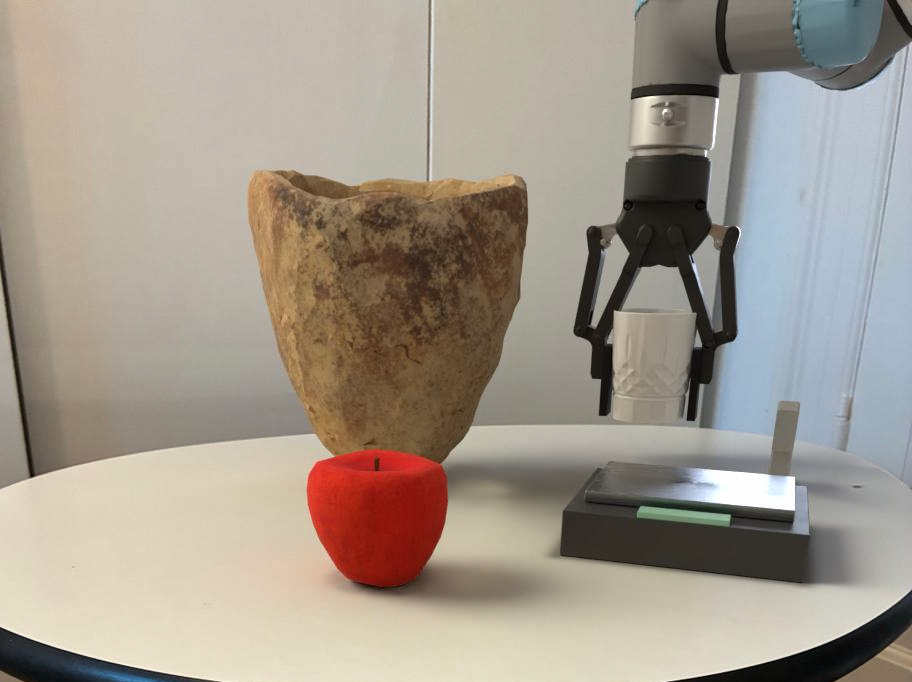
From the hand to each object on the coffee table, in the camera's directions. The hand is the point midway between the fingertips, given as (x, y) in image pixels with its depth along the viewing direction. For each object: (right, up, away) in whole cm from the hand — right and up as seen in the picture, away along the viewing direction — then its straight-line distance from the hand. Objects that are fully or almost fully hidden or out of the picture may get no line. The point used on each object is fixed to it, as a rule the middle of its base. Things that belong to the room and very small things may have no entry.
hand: (647, 416), depth 99 cm
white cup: (0, -1, 0) cm, 0 cm away
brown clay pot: (-25, -7, -7) cm, 27 cm away
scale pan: (-2, -11, -24) cm, 27 cm away
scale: (-2, -14, -24) cm, 28 cm away
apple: (-24, -18, -33) cm, 45 cm away
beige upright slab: (+9, -9, -9) cm, 16 cm away
